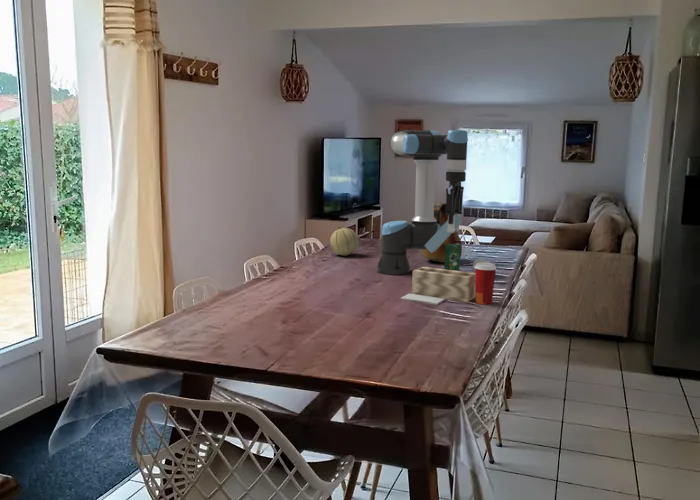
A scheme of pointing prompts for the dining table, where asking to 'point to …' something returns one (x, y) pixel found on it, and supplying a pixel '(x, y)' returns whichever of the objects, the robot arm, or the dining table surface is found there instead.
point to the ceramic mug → (478, 262)
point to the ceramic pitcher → (452, 239)
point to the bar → (441, 235)
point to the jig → (444, 284)
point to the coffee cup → (484, 282)
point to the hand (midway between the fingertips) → (453, 231)
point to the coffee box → (452, 257)
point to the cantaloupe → (344, 241)
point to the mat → (422, 299)
